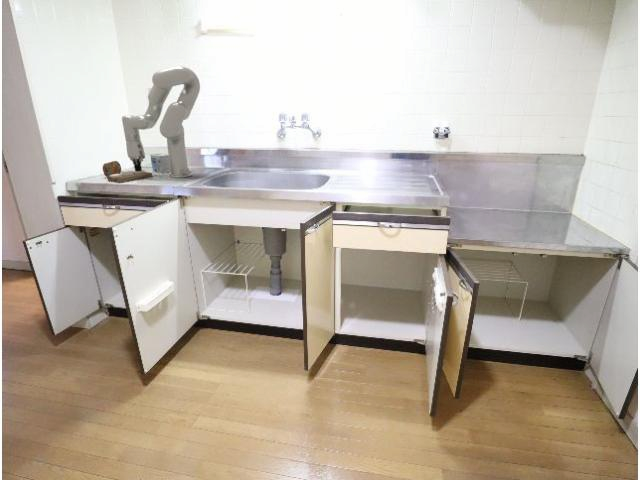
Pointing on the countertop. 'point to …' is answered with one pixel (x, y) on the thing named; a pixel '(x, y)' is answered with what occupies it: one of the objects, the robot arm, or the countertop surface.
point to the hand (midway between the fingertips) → (138, 171)
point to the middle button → (127, 172)
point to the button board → (130, 177)
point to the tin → (111, 168)
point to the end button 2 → (138, 171)
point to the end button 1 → (115, 175)
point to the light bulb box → (160, 163)
